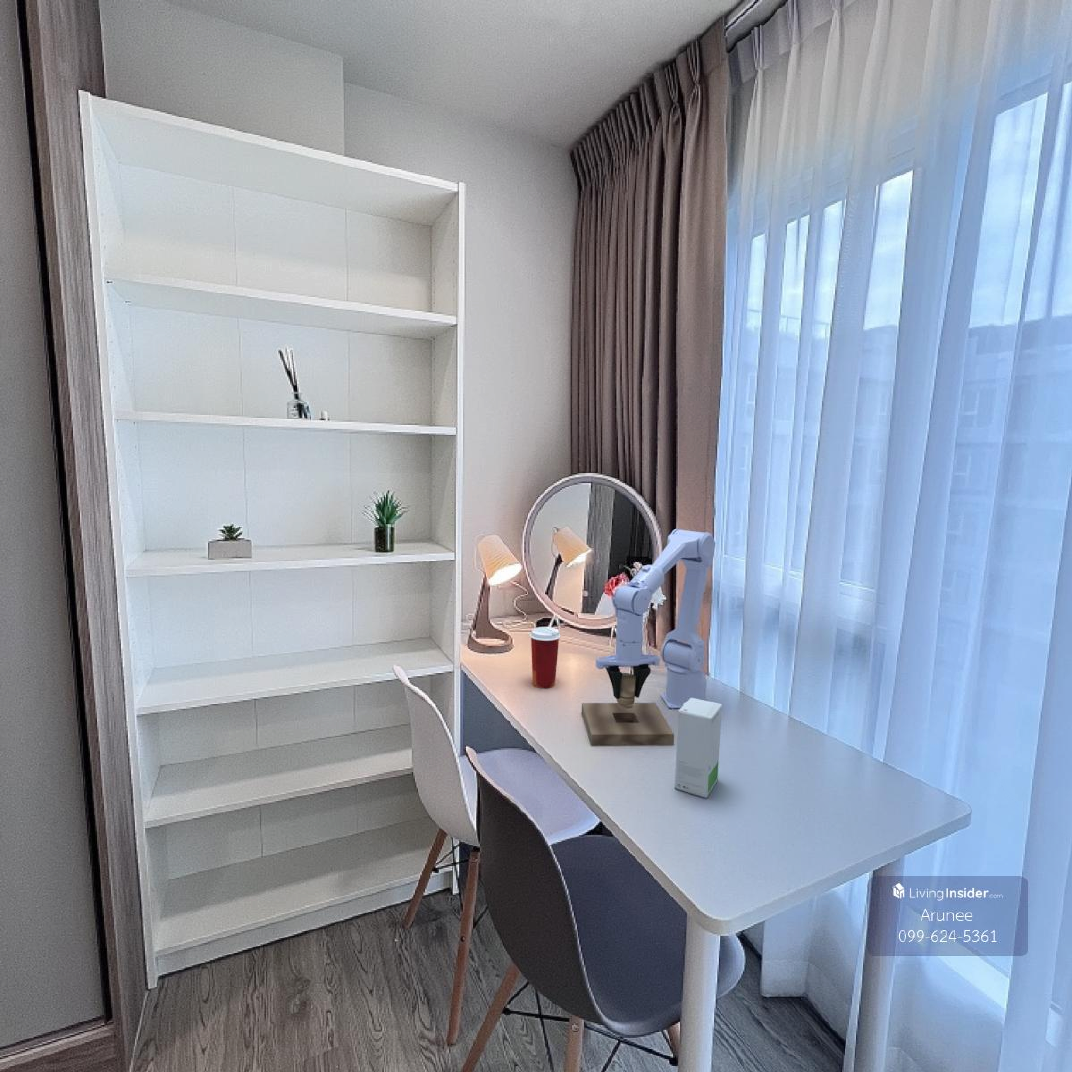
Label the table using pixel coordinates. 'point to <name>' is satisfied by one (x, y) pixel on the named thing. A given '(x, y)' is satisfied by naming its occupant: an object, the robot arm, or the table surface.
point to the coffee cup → (544, 656)
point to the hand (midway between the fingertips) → (626, 696)
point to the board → (626, 724)
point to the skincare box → (698, 746)
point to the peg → (627, 690)
